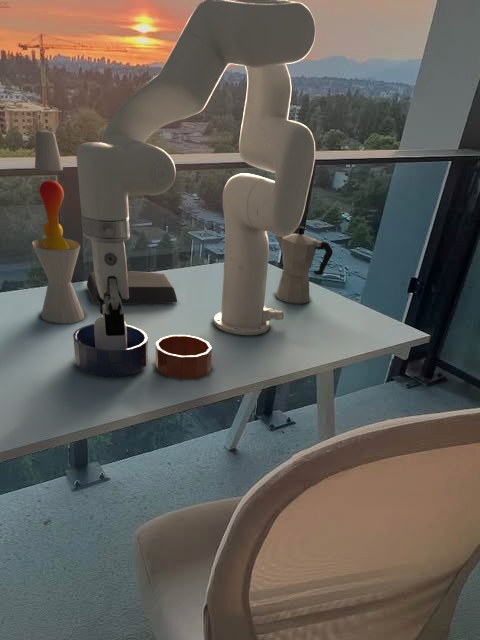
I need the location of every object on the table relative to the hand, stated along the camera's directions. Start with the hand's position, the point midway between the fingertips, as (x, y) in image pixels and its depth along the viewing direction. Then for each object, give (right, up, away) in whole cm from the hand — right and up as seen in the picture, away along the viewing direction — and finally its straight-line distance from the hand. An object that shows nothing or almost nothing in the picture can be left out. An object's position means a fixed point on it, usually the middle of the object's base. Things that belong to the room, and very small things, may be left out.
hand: (112, 324), depth 113 cm
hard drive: (-7, +16, +35) cm, 39 cm away
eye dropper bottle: (-1, -6, +4) cm, 7 cm away
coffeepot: (+33, +19, +50) cm, 62 cm away
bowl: (-1, -6, +4) cm, 8 cm away
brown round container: (+12, -7, +7) cm, 15 cm away
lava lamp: (-17, +7, +20) cm, 27 cm away
